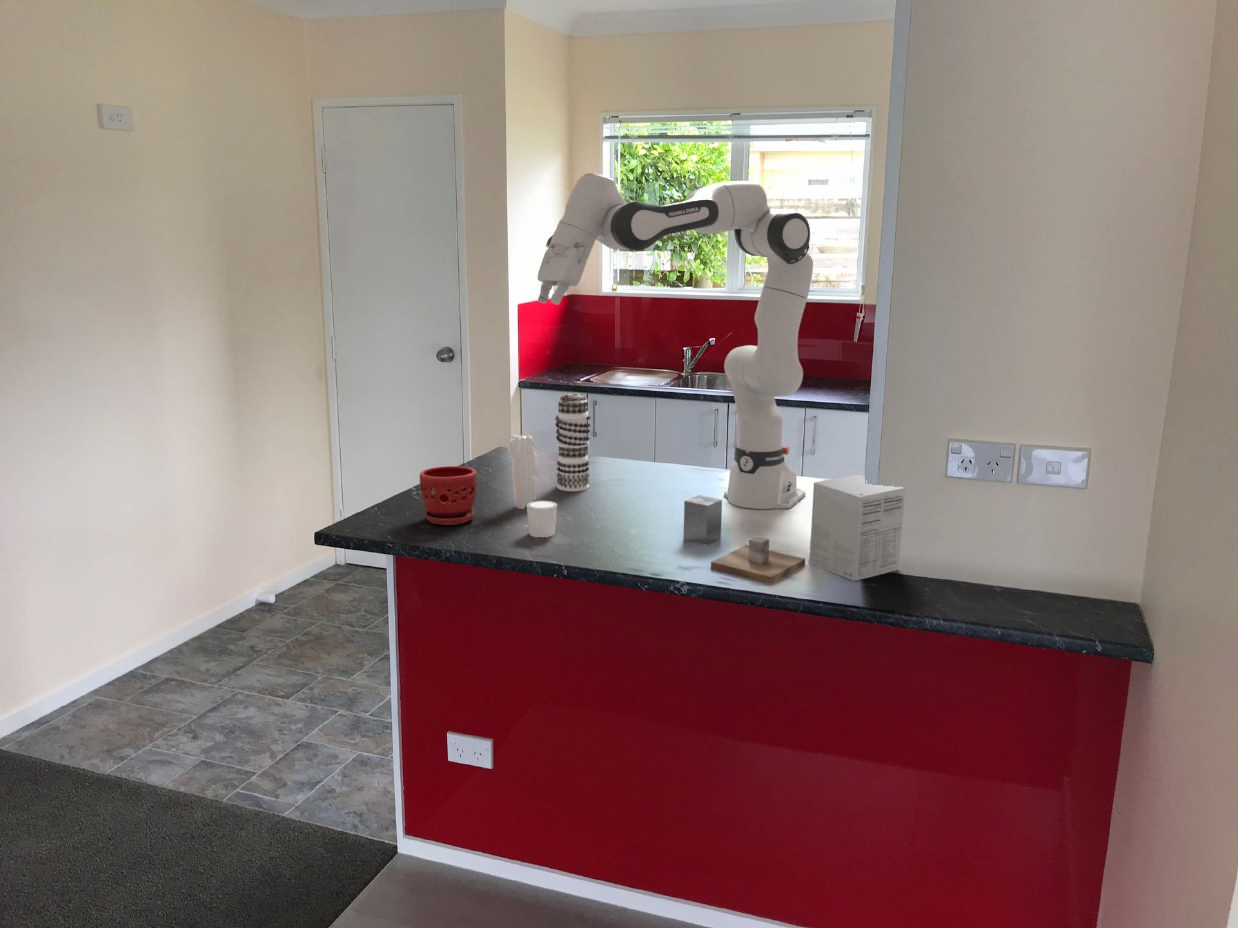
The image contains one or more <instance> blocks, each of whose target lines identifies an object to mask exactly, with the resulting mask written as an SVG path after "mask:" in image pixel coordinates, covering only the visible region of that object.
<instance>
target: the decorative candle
mask: <svg viewBox="0 0 1238 928" xmlns="http://www.w3.org/2000/svg"><path fill="white" fill-rule="evenodd" d="M557 402H558V411H557V415H556V416H555V418H554V420H555V421H556V423H555V427H556V428H557V429H556V432H555V433H556V437H555V438H556V441H557V442H556V445H557V446H558V455H557V462H556V464H557V466H558V467H557V468H556V470H557V474H556V477H557V479H556V483H557V489H558V490H560V491H565V492H582V491H585V489H586V490H588V489H589V488H588V487H590V485H589V483H590V480H589V478H590V474H589V472H588V471H589V470H590V468H589V465H590V462H589V459H588V458H589V457H588V456H589V455H588V446H589V444H590V442H589V440H590V436H588V434H589V433H590V432H591V431H590V429H589V427H591V424H590V423H588V421H589V420H590V419H591V418H592V417H591V416H590V415H589V411H588V402H589V399H588V398H587V397H586V396H585V394H583V393H580V392H579V393H577V392H567V393H564V394H562V395H561V397H560V398H558V399H557ZM587 488H588V489H587Z"/></svg>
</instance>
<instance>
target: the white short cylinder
mask: <svg viewBox="0 0 1238 928" xmlns="http://www.w3.org/2000/svg"><path fill="white" fill-rule="evenodd" d="M526 506H527V507H526V513H527V521H528V531H529V536H531V537H533V536H534V537H533V538H537V537H542V538H543V537H546V538H550V537H549V536H551V537H553V536H555V534H554V533H555V532H556V521H557V513H558V512H557V511H558V504H557V502H554V501H551V500H535V501H533V502H530V503H528V504H527V505H526ZM552 535H553V536H552ZM542 538H541V539H542Z"/></svg>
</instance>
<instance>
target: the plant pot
mask: <svg viewBox="0 0 1238 928" xmlns="http://www.w3.org/2000/svg"><path fill="white" fill-rule="evenodd" d="M477 482H478V477H477V471H476V469H474V468H471V467H467V466H458V465H457V466H456V465H455V466H454V465H453V466H450V465H448V466H437V467H435V466H434V467H431V468H427V469H424V470H422V471H420V473H419V486H420V493H421V499H422V502H423V505H424V507H425V508H426V510H427V511H425V512H424V518H425V519H426V520H427V521H428V522H429V523H432V524H435V525H441V526H453V525H454V526H458V525H460V524H464V523H467V522H469V521H471V520H472V519H473V517H474V516H475V513H476V512H475V511H476V510H474V509H473V506H474V503H475V499H476V496H477V490H478V489H477V488H478V487H477ZM432 489H434V491H435V492H433V491H432Z"/></svg>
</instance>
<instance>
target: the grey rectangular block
mask: <svg viewBox="0 0 1238 928" xmlns="http://www.w3.org/2000/svg"><path fill="white" fill-rule="evenodd" d="M683 502H684V505H683V507H684V508H683V509H684V510H683V538H682V539H683V541H688V542H691V543H695V544H700V545H702V546H703V545H704V546H707V545H709V544H711V543H714V542H717V541H719V540H721V538H722V518H723V517H722V514H723V512H722V511H723V510H722V509H723V499H721V498H715V497H711V496H706V495H701V494H700V495H696V496H694V497H690V498H688V499H685V500H684V501H683Z"/></svg>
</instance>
